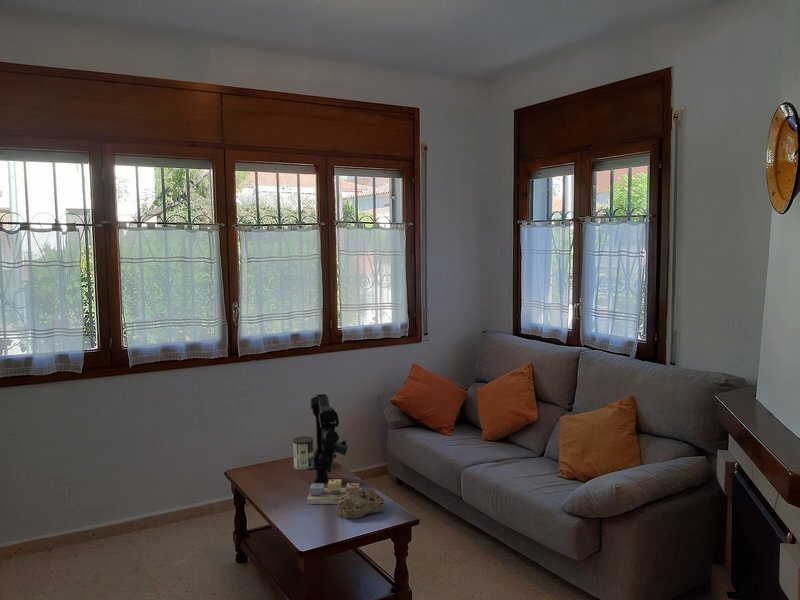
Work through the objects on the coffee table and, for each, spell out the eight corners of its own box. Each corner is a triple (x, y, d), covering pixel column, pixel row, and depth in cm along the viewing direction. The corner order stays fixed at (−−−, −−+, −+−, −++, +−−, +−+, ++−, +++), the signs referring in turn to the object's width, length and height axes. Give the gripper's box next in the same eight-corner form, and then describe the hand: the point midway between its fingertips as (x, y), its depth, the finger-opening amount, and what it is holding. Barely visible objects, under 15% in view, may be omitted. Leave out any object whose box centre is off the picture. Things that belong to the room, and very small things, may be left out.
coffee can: (309, 461, 341) (308, 435, 339) (317, 467, 332) (316, 440, 331) (290, 465, 335) (289, 438, 334) (298, 471, 326) (297, 443, 325)
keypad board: (311, 493, 296) (311, 488, 296) (361, 492, 296) (361, 487, 296) (307, 504, 285) (307, 498, 284) (359, 503, 284) (359, 497, 284)
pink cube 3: (347, 495, 293) (347, 482, 292) (359, 495, 293) (359, 482, 292) (346, 500, 287) (345, 487, 287) (358, 500, 287) (358, 487, 287)
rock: (369, 502, 288) (374, 482, 285) (387, 520, 276) (391, 500, 274) (329, 509, 276) (333, 488, 274) (345, 528, 264) (349, 506, 262)
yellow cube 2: (329, 491, 293) (329, 479, 292) (341, 491, 293) (341, 478, 292) (328, 496, 287) (327, 483, 287) (340, 496, 287) (340, 483, 287)
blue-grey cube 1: (312, 495, 293) (311, 483, 293) (324, 495, 293) (323, 483, 293) (310, 500, 288) (309, 487, 287) (322, 500, 288) (322, 487, 287)
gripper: (343, 444, 278) (344, 479, 279) (349, 431, 297) (350, 465, 298) (317, 444, 279) (319, 479, 280) (325, 431, 297) (326, 465, 298)
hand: (329, 472), depth 289 cm, fingers closed
